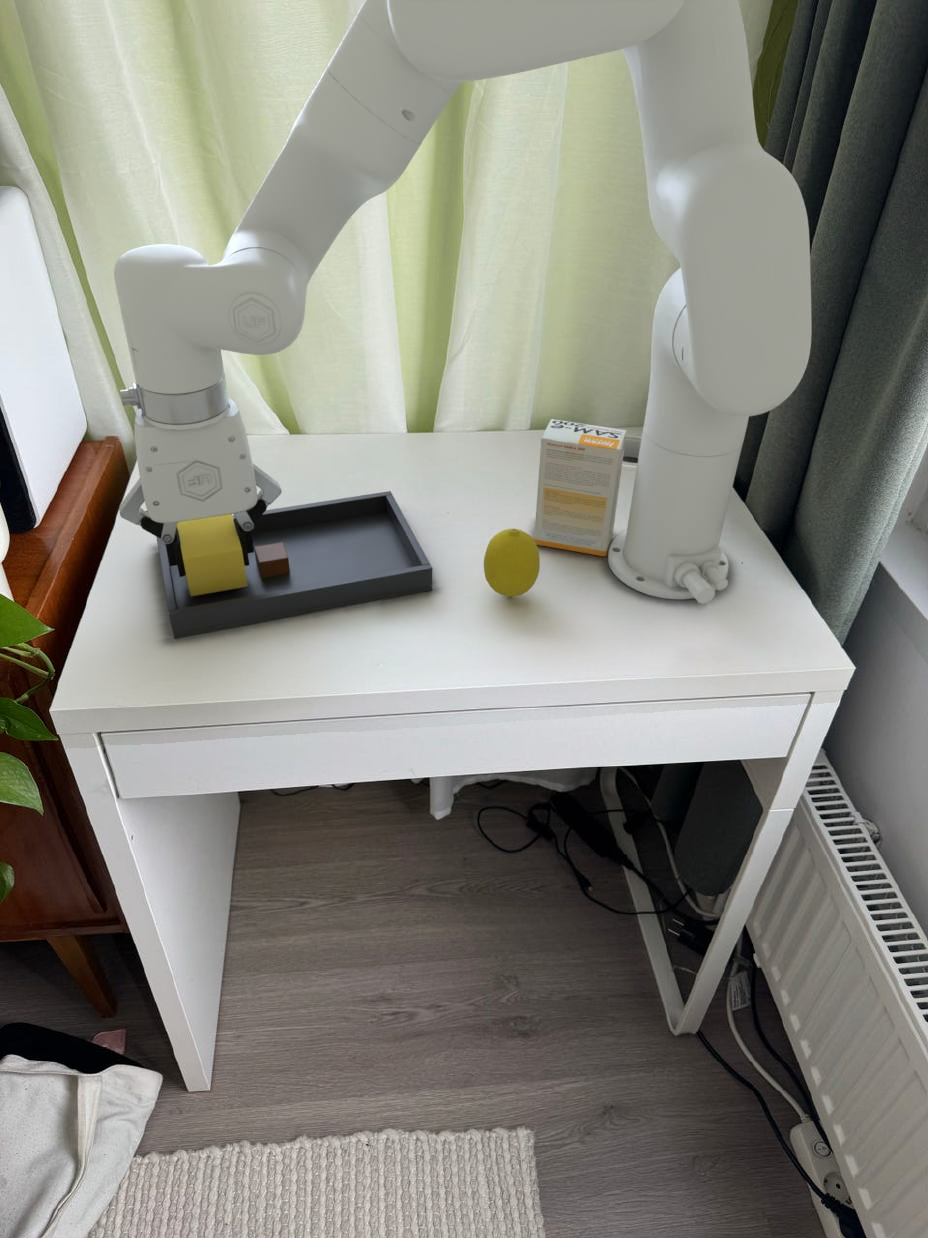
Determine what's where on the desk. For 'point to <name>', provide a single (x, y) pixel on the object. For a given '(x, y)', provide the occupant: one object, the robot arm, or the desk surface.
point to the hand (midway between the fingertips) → (212, 562)
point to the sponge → (212, 555)
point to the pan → (310, 566)
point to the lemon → (511, 562)
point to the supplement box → (578, 486)
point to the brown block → (272, 560)
